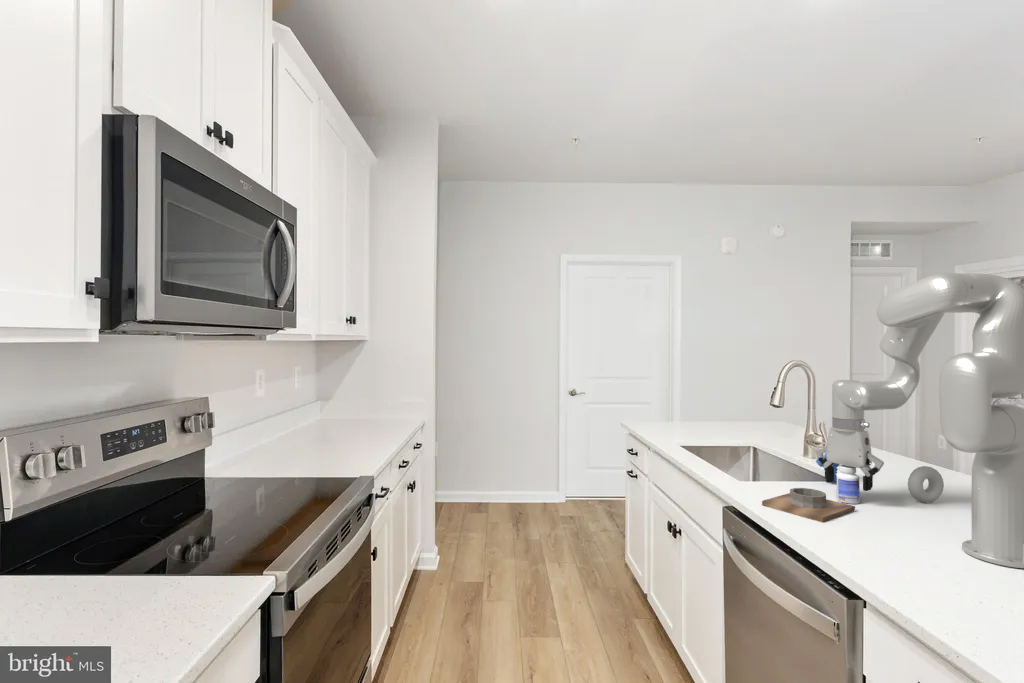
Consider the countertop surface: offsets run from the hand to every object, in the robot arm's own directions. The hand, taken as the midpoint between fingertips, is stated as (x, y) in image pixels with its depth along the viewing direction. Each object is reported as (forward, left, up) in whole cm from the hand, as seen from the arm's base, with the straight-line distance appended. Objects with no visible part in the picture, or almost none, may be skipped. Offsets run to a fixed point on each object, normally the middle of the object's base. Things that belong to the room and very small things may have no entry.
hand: (848, 485), depth 147 cm
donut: (-12, -17, -4) cm, 21 cm away
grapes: (+14, -17, -4) cm, 22 cm away
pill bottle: (0, 0, -5) cm, 5 cm away
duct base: (+3, +15, -4) cm, 16 cm away
